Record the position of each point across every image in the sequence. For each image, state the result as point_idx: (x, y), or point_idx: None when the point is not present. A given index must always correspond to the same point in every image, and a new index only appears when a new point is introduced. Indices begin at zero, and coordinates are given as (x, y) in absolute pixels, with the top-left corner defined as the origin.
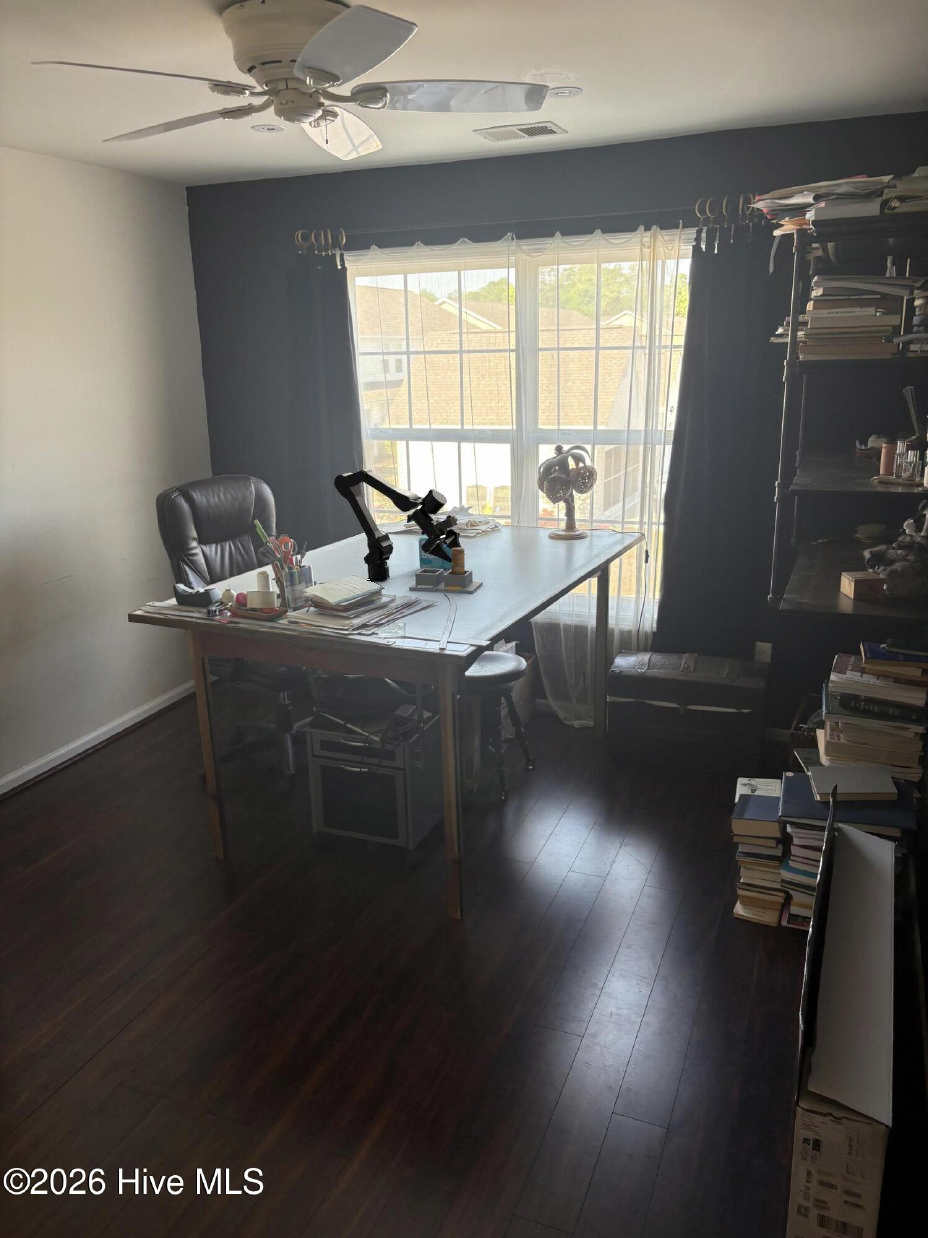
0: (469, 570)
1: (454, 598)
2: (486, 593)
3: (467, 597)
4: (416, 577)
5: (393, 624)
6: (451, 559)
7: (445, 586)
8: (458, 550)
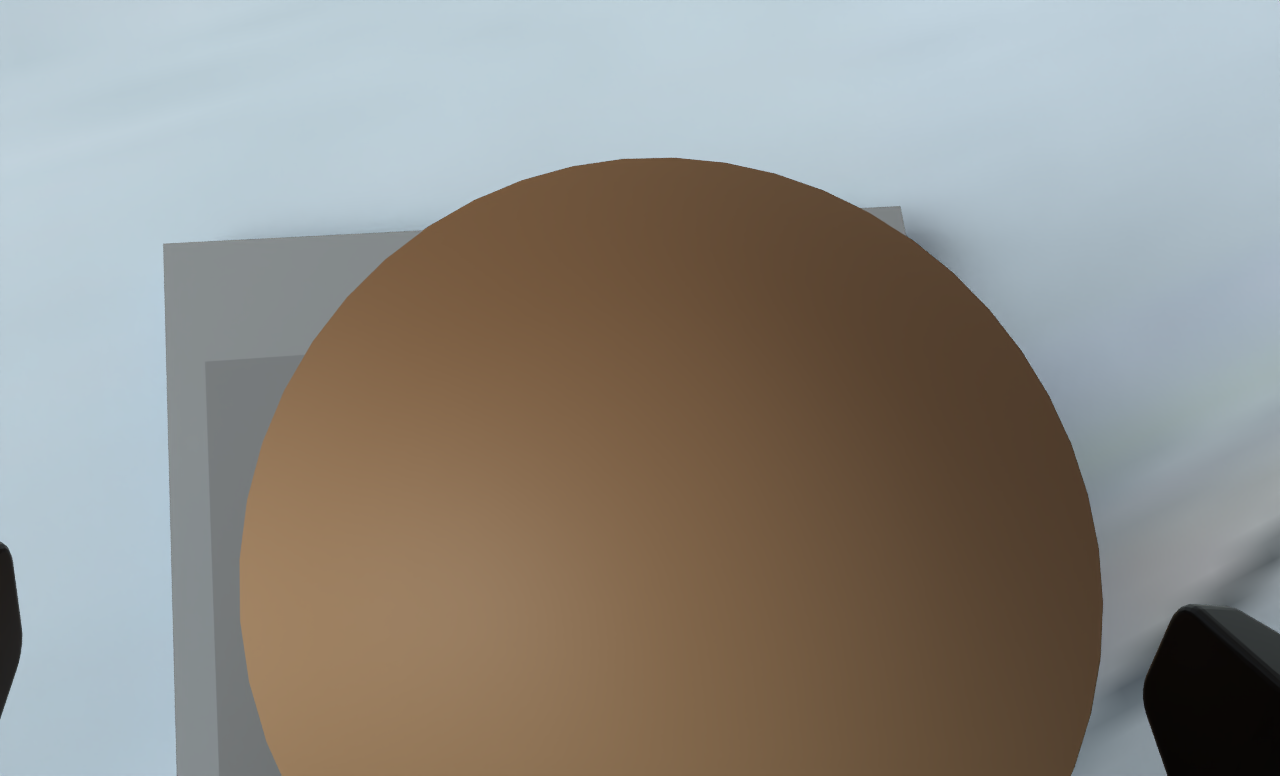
0: (223, 438)
1: (1270, 415)
2: (780, 18)
3: (1124, 231)
4: None
5: None
6: (1245, 627)
7: None
8: (1015, 363)
